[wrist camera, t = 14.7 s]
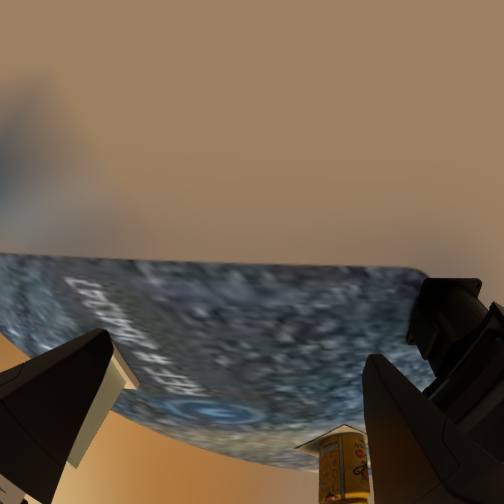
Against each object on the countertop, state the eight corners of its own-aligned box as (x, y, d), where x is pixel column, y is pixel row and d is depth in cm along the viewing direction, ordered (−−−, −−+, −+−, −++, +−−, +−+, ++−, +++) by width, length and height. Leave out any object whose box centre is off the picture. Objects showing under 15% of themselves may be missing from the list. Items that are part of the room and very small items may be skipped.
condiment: (376, 437, 28) (386, 513, 17) (329, 460, 31) (328, 528, 20) (344, 423, 27) (349, 512, 16) (294, 447, 30) (287, 524, 19)
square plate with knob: (109, 337, 26) (88, 364, 22) (140, 383, 28) (124, 410, 24) (72, 339, 27) (52, 361, 23) (101, 380, 30) (85, 403, 26)
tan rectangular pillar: (104, 348, 25) (40, 436, 13) (126, 382, 27) (76, 468, 15) (75, 347, 26) (15, 421, 14) (96, 379, 28) (47, 453, 16)
